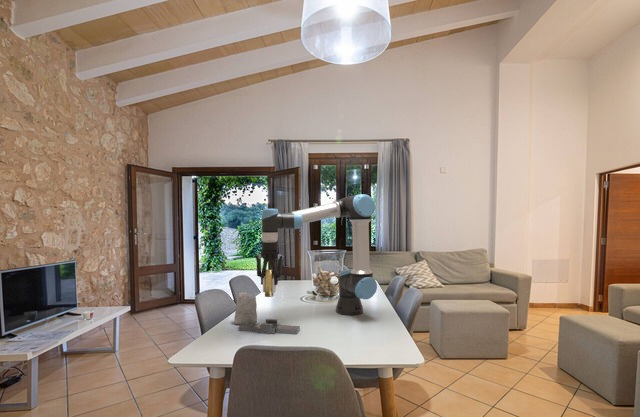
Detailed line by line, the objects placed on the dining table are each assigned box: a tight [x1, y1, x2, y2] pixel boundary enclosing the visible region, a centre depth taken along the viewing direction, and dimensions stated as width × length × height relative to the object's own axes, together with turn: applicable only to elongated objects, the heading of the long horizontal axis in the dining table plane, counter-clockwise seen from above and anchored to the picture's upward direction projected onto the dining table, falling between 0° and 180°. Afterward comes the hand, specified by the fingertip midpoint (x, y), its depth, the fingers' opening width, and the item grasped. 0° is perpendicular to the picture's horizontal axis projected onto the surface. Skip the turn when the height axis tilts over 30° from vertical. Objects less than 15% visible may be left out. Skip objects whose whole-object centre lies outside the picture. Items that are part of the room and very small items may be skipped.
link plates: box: [238, 318, 301, 335], centre depth 149 cm, size 28×8×4 cm, turn 80°
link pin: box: [264, 269, 275, 298], centre depth 150 cm, size 4×4×12 cm
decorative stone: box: [233, 291, 258, 325], centre depth 159 cm, size 11×6×15 cm, turn 87°
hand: (269, 291), depth 149 cm, fingers closed on link pin, 4 cm apart
